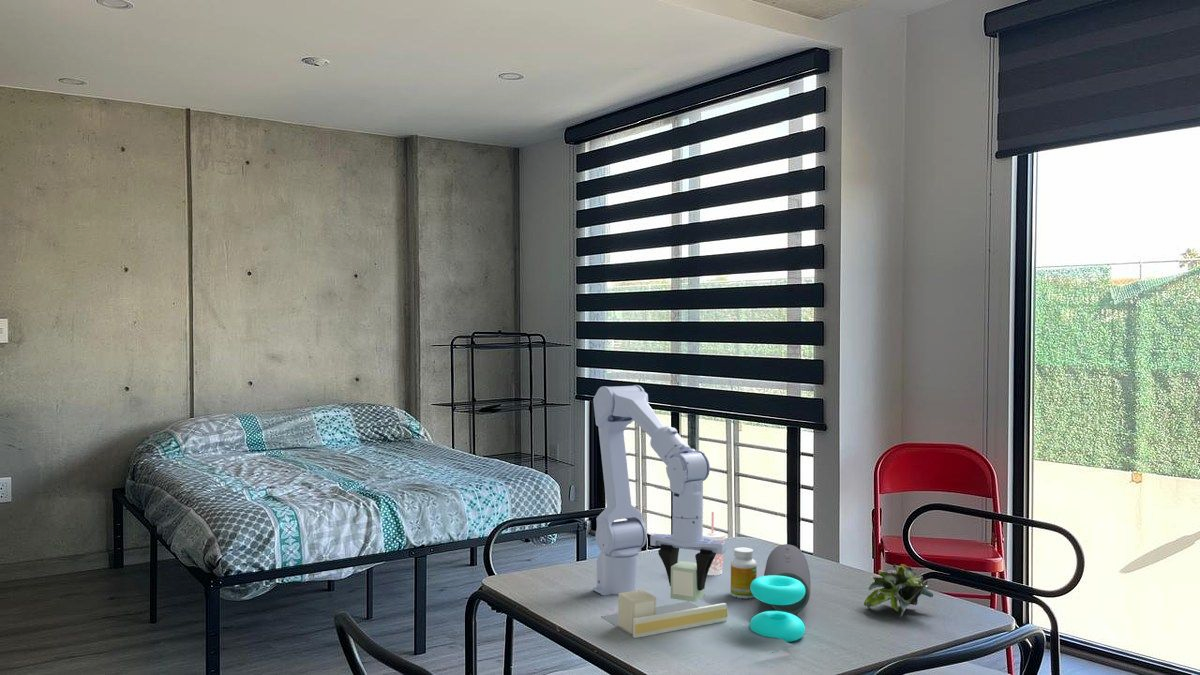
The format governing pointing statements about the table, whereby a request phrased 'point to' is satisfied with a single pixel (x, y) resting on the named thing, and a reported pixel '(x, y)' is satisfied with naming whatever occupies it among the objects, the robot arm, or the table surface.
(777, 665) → the table surface
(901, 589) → the green leafy plant
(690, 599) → the sage carton
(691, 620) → the shelf board
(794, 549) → the bluetooth speaker
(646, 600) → the beige block
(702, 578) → the robot arm
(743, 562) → the supplement bottle
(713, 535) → the beverage cup
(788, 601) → the donuts
